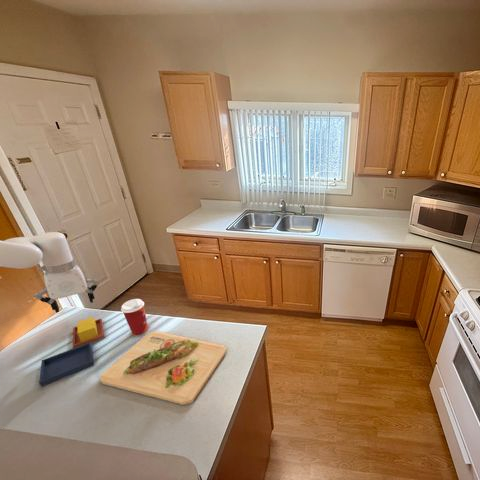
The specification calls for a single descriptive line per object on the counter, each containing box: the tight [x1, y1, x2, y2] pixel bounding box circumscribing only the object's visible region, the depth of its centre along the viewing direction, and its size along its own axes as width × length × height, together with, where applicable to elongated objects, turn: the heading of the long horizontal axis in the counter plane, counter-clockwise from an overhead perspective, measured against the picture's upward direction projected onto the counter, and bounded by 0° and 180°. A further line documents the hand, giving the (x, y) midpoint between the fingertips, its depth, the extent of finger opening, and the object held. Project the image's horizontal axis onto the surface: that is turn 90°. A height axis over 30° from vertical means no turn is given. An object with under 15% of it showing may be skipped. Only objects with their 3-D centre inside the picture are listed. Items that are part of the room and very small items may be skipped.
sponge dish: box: [72, 318, 106, 349], centre depth 103 cm, size 12×9×2 cm
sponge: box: [76, 316, 98, 342], centre depth 103 cm, size 8×5×4 cm, turn 41°
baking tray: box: [38, 342, 95, 388], centre depth 90 cm, size 13×11×2 cm
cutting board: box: [99, 330, 228, 406], centre depth 91 cm, size 35×23×8 cm
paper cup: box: [120, 298, 149, 336], centre depth 104 cm, size 8×8×14 cm
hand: (75, 305), depth 97 cm, fingers open, 9 cm apart
